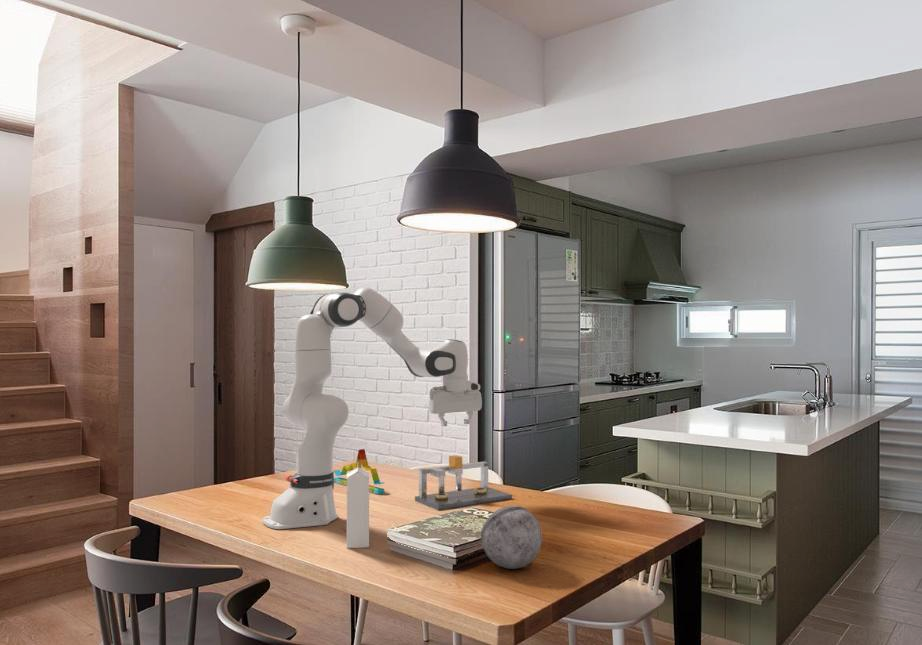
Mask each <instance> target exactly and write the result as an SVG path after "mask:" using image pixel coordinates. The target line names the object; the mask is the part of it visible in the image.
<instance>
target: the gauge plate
mask: <svg viewBox="0 0 922 645" xmlns="http://www.w3.org/2000/svg"><path fill="white" fill-rule="evenodd" d="M448 467H449V465H444V466H443V465H442V466H434V467H424V468H418V495H415V496H414V501H415V502H416V503H419V504H421V505H425V506H427V507H430V508H432V509H434V510H436V511H437V510H438V511H441V510H443V511H444V510H449V509H454V508H460V507H461V508H462V507H467V506H468V507H469V506H475V505H480V504H485V503H486V504H487V503H495V502H499V501H507V500H511V499H512V498H513V494H511V493H508V492H504V491H501V490H498V489H495V488H492V487H489V461H485V460H484V461H477V462H469V463H468V462H467V463H462V468H463V470H470V469H477V468H480V487H474V488H465V489H462V491H456V490H453V491H445V477H446V472H448ZM427 474H430V475H431V476H432V477H436V478H438V492H437V493H429V494H428V490H427V489H428V488H427V487H428V485H427V484H428V483H427Z"/></svg>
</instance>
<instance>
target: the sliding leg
mask: <svg viewBox="0 0 922 645" xmlns="http://www.w3.org/2000/svg"><path fill="white" fill-rule="evenodd" d="M462 464H463V456H460V455H456V454H454V455H448V466H449V467H448V471H447V472H448V474H450V475H454V476H455V491H462V490H463V489H462V488H463V487H462V486H463V484H462V483H463V481H462V480H463V478H462V477H463V476H462V475H463V470H464V469H463V468H462Z"/></svg>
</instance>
